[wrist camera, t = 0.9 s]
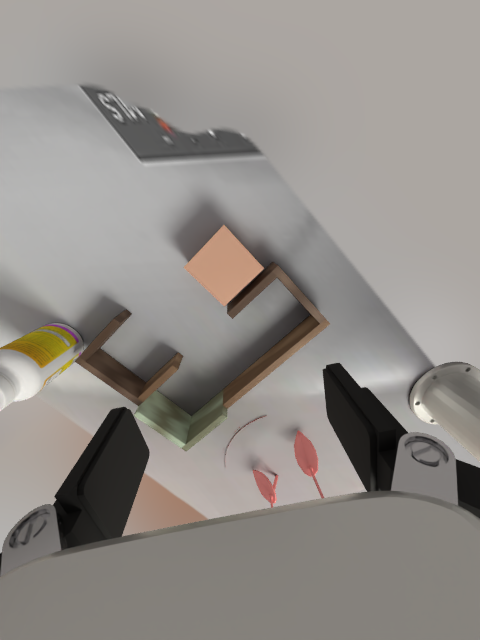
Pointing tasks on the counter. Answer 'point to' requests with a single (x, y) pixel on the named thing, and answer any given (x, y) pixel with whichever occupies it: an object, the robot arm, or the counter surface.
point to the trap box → (146, 396)
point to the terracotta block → (224, 266)
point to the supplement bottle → (36, 361)
